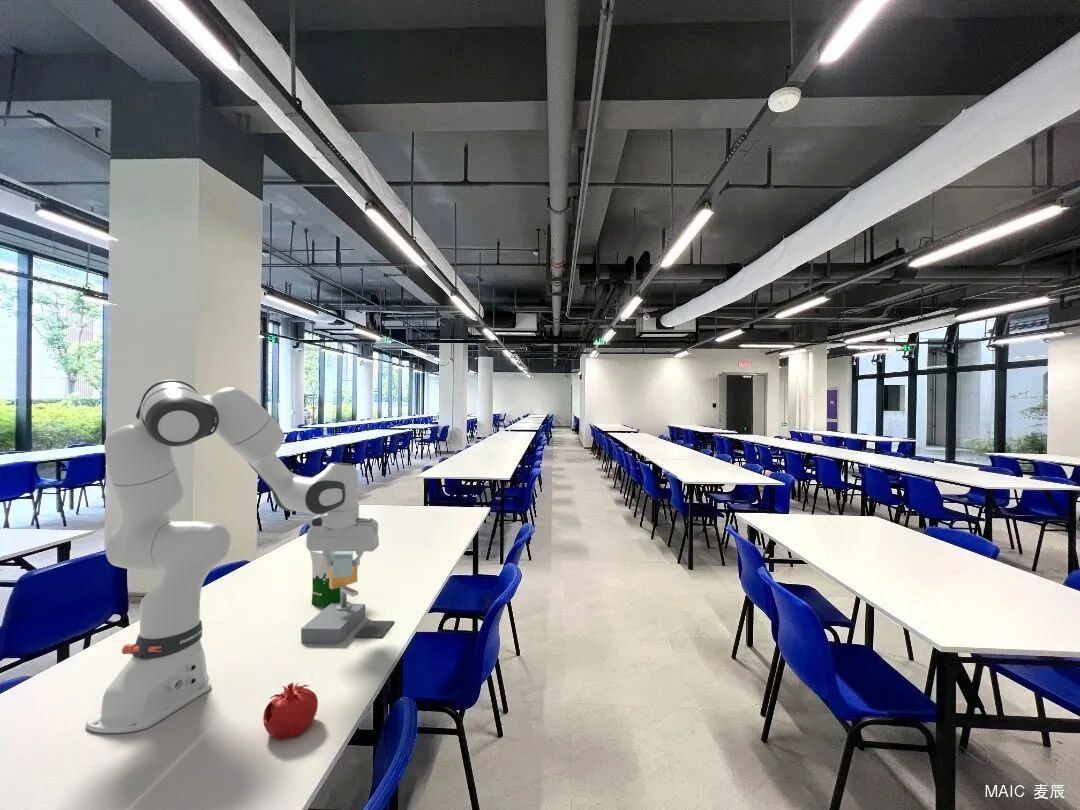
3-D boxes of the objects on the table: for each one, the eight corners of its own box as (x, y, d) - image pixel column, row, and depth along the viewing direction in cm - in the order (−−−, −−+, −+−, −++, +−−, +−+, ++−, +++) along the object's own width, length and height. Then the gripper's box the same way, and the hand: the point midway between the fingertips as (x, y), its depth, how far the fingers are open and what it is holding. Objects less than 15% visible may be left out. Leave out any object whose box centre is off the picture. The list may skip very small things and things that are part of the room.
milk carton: (347, 599, 163) (347, 541, 163) (324, 609, 155) (324, 548, 155) (330, 595, 167) (329, 538, 167) (306, 604, 159) (306, 544, 159)
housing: (339, 643, 132) (339, 627, 132) (301, 642, 133) (301, 627, 133) (365, 616, 149) (365, 602, 149) (331, 616, 150) (330, 602, 150)
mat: (381, 638, 135) (381, 636, 135) (354, 637, 136) (354, 636, 136) (394, 622, 145) (394, 620, 145) (368, 621, 146) (368, 620, 146)
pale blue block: (352, 575, 135) (351, 558, 135) (333, 578, 134) (332, 560, 134) (353, 566, 143) (352, 549, 143) (334, 568, 141) (334, 551, 141)
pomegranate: (325, 712, 103) (326, 669, 103) (304, 745, 93) (305, 696, 93) (278, 713, 102) (279, 669, 102) (252, 745, 92) (253, 696, 92)
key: (367, 608, 145) (367, 569, 145) (342, 617, 139) (342, 577, 139) (354, 601, 150) (353, 564, 150) (329, 609, 144) (329, 571, 144)
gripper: (382, 515, 141) (382, 562, 141) (314, 515, 142) (315, 561, 142) (373, 521, 134) (374, 569, 135) (302, 520, 135) (303, 569, 136)
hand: (343, 565), depth 138 cm, fingers closed on pale blue block, 6 cm apart
